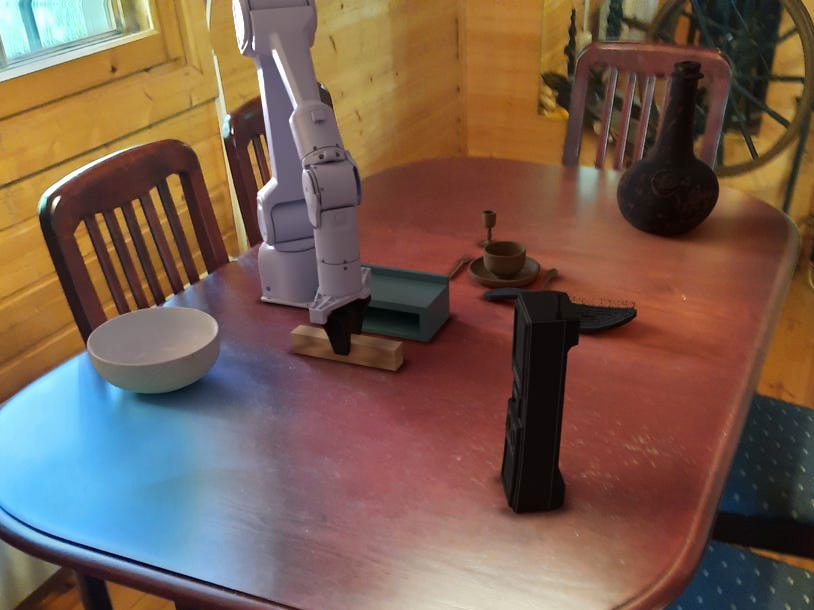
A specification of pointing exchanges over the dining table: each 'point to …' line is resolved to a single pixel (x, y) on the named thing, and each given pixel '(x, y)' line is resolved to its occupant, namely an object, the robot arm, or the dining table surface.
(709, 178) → the glass bottle
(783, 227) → the dining table surface
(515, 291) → the hairbrush
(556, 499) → the portable radio
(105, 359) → the cereal bowl
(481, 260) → the place setting
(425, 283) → the shelf
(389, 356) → the stick
